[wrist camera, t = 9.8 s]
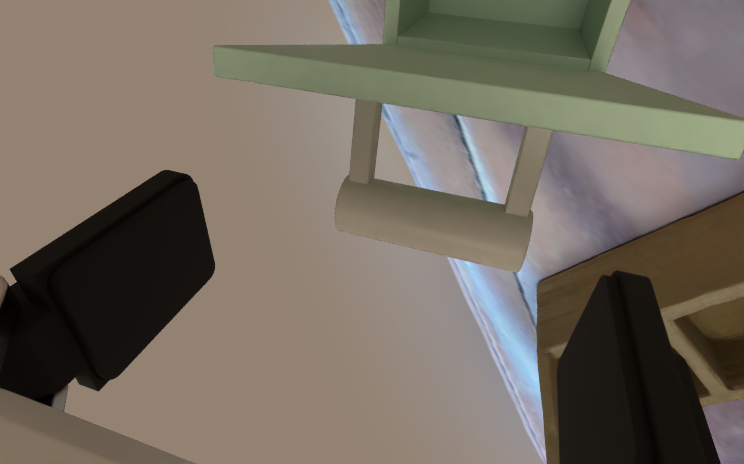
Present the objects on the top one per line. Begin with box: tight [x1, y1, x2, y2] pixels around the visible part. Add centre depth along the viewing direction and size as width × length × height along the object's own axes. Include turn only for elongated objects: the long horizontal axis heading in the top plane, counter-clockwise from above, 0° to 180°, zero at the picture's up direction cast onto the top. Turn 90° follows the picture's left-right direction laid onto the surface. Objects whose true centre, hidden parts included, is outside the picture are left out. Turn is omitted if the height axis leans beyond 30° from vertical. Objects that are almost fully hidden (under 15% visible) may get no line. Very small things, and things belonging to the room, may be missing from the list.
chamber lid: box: [213, 44, 744, 272], centre depth 19 cm, size 17×13×6 cm
